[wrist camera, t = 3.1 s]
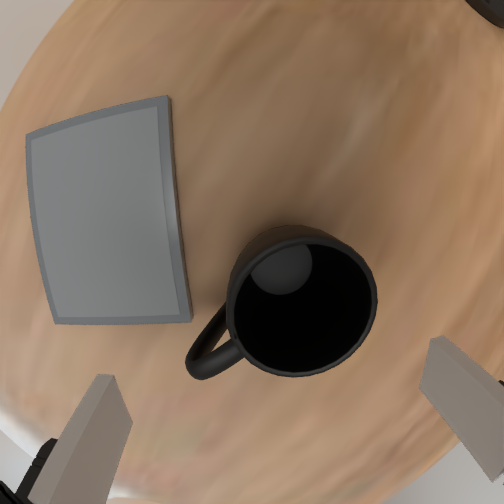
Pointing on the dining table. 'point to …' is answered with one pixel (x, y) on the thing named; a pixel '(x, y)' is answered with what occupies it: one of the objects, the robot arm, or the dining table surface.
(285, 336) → the mug
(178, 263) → the slate board
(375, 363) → the dining table surface
